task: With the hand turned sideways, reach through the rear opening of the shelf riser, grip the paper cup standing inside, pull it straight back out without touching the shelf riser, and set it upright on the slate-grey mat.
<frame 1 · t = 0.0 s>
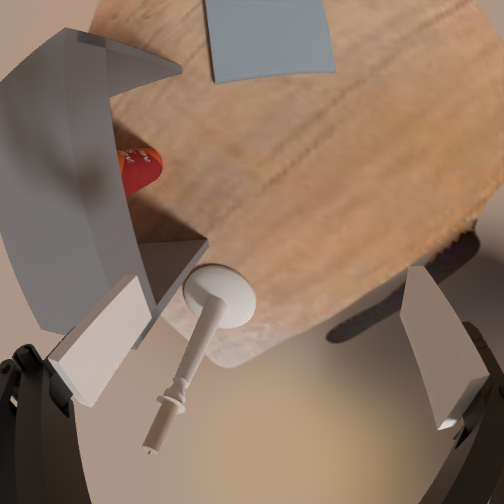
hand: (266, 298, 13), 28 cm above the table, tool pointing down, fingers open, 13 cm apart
mat: (267, 26, 28), on the table
paper cup: (147, 164, 40), on the table
candlestick: (220, 297, 48), on the table
shelf riser: (147, 165, 40), on the table
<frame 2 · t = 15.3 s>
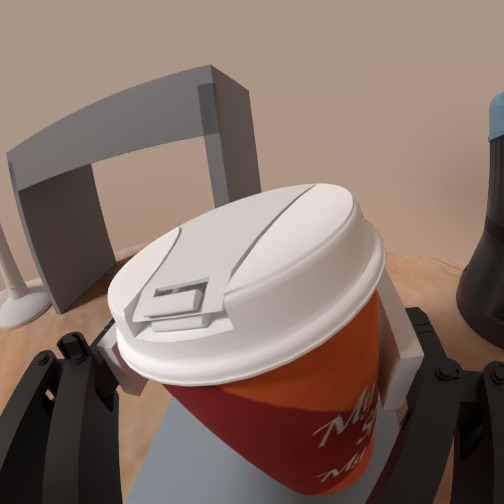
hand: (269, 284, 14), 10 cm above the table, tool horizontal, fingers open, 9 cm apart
mat: (274, 457, 14), on the table
paper cup: (324, 455, 12), point 1 cm above the table, touching gripper, mat
candlestick: (26, 308, 34), on the table
shelf riser: (157, 287, 36), on the table
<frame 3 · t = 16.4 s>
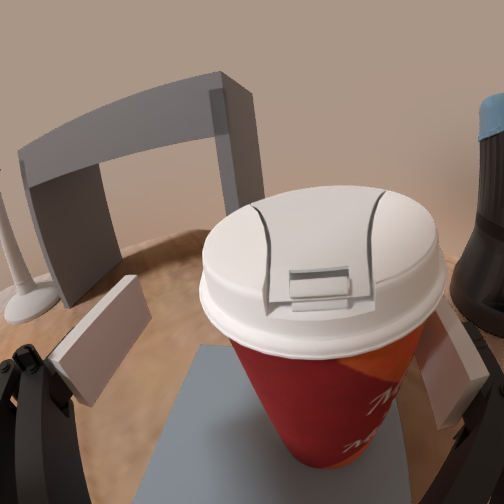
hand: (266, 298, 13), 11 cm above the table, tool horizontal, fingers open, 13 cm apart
mat: (282, 434, 16), on the table
paper cup: (329, 431, 14), point 1 cm above the table, touching mat
candlestick: (33, 304, 36), on the table
shelf riser: (164, 282, 38), on the table
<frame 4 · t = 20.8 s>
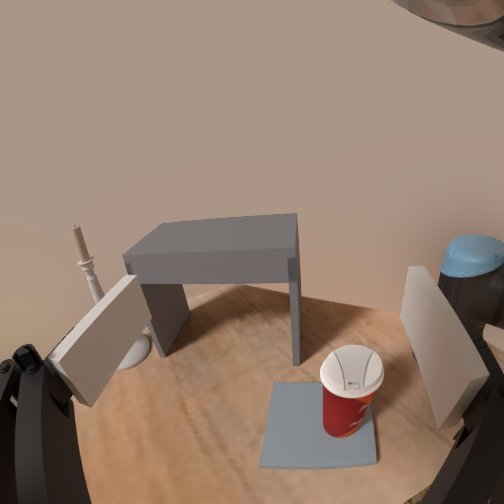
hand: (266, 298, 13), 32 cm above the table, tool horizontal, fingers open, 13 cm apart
mat: (320, 424, 35), on the table
paper cup: (341, 423, 34), point 1 cm above the table, touching mat
candlestick: (124, 351, 55), on the table
shelf riser: (233, 336, 57), on the table
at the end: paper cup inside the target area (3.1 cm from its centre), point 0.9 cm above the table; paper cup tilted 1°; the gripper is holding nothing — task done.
